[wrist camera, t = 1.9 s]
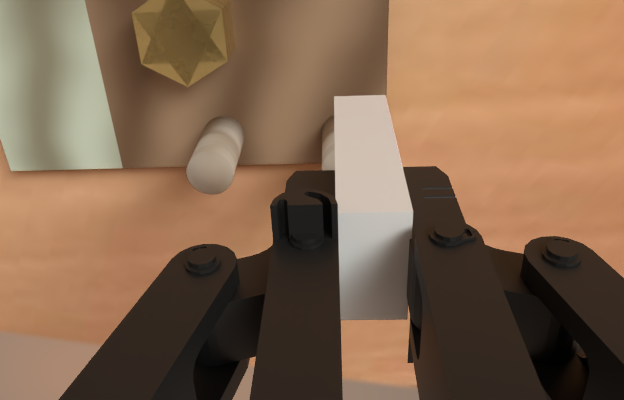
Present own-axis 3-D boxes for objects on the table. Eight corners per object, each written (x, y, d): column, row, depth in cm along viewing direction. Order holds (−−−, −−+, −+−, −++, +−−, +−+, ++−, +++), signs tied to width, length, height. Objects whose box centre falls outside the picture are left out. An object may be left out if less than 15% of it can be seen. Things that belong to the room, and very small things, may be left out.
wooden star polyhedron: (159, 71, 32) (145, 88, 30) (142, -25, 30) (126, -15, 27) (237, 69, 32) (230, 85, 30) (227, -28, 30) (218, -19, 27)
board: (19, 162, 37) (-33, 213, 31) (-82, -150, 28) (-178, -153, 23) (382, 152, 36) (392, 203, 31) (390, -173, 27) (406, -182, 22)
